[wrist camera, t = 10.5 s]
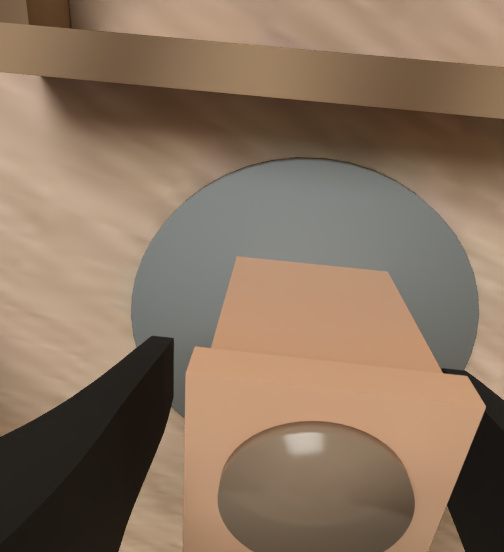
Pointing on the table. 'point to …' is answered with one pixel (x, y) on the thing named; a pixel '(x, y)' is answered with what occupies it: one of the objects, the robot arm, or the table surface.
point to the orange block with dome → (319, 418)
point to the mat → (303, 252)
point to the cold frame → (239, 66)
